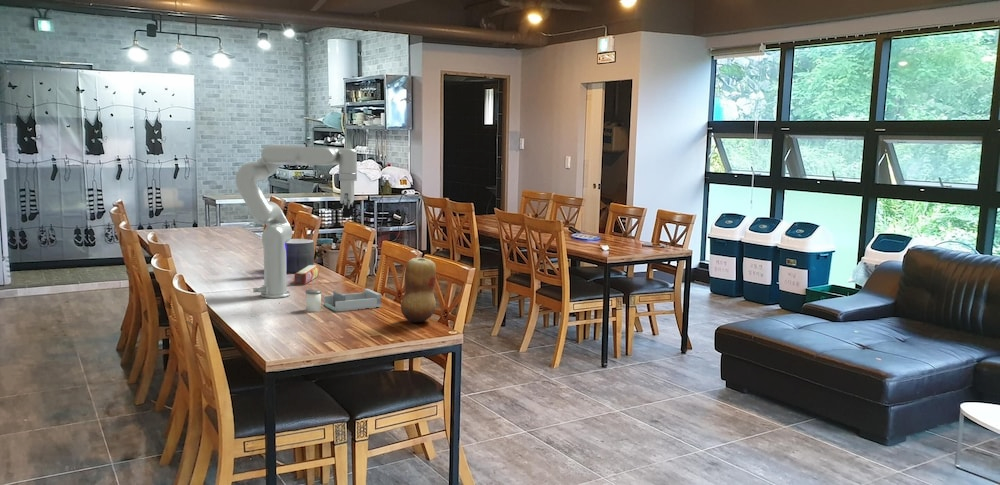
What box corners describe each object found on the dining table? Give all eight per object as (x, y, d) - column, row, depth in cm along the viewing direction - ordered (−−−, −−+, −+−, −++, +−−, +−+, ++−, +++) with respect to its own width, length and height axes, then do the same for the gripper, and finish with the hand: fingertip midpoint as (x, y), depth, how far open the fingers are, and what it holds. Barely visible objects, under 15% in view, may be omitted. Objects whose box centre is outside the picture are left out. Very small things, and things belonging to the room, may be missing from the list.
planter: (308, 274, 396) (308, 243, 393) (274, 273, 396) (274, 242, 394) (317, 268, 413) (317, 239, 411) (284, 267, 413) (284, 238, 411)
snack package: (306, 285, 365) (306, 271, 364) (292, 285, 366) (292, 271, 365) (319, 278, 386) (319, 264, 385) (306, 277, 387) (306, 264, 386)
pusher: (343, 309, 314) (343, 296, 314) (333, 304, 324) (333, 291, 323) (372, 306, 321) (372, 293, 321) (362, 301, 331) (362, 288, 330)
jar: (308, 312, 309) (308, 292, 308) (303, 309, 314) (303, 290, 313) (323, 310, 312) (323, 291, 311) (318, 307, 318) (318, 289, 317)
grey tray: (335, 311, 311) (335, 298, 311) (323, 305, 323) (323, 292, 322) (381, 307, 322) (381, 294, 322) (368, 301, 334) (368, 288, 333)
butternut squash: (426, 327, 290) (427, 262, 286) (394, 323, 294) (395, 259, 291) (441, 320, 303) (442, 257, 299) (411, 316, 307) (411, 254, 304)
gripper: (342, 176, 339) (342, 214, 341) (336, 178, 322) (336, 218, 324) (359, 176, 340) (359, 215, 342) (354, 178, 322) (354, 218, 325)
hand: (347, 216), depth 333 cm, fingers open, 9 cm apart
